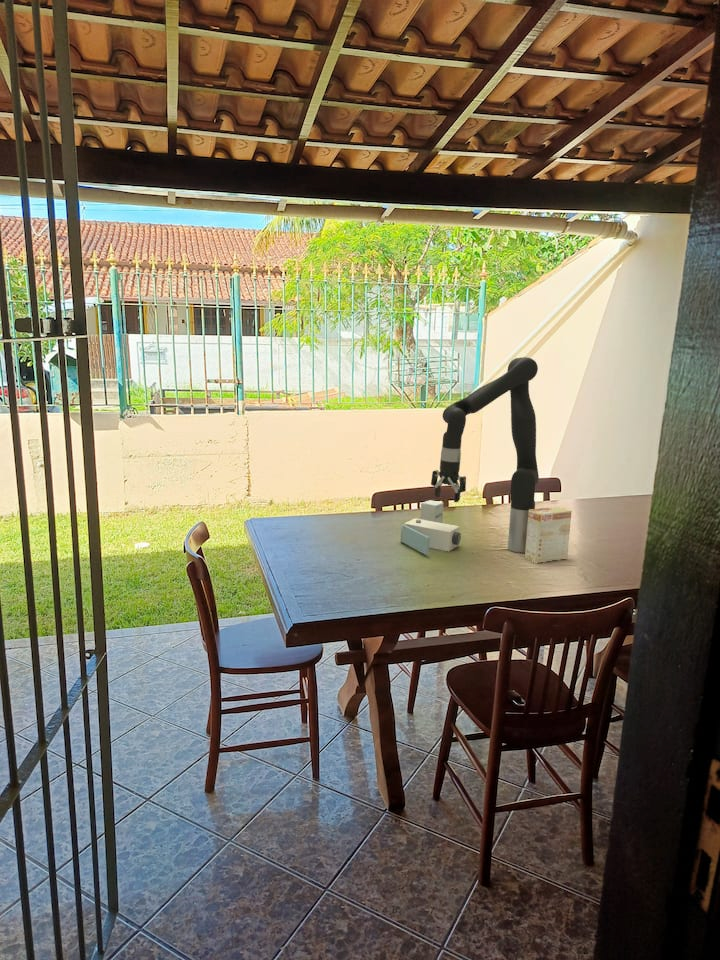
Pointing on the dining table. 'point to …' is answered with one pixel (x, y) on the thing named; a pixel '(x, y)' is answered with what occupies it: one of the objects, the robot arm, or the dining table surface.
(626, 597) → the dining table surface
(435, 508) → the supplement box
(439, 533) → the camera housing
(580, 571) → the dining table surface
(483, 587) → the dining table surface
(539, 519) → the coffeecake box
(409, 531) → the door
